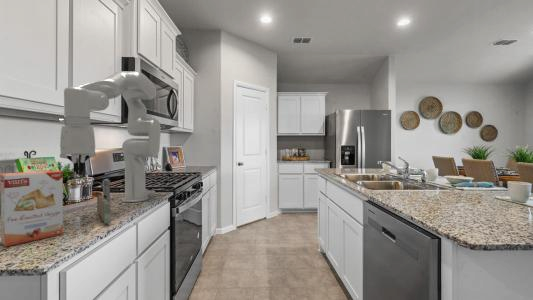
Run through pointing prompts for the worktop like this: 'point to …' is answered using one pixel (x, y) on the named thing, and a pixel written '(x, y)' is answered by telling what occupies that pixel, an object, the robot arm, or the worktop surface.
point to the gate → (104, 208)
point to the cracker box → (31, 206)
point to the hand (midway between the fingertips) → (78, 173)
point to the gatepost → (106, 189)
